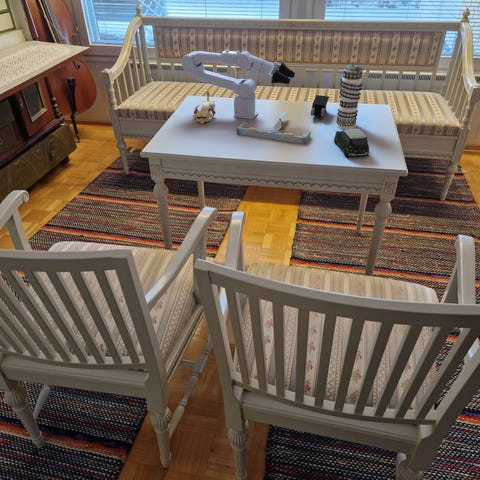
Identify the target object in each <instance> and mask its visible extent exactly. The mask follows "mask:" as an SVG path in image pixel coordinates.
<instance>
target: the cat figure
mask: <svg viewBox="0 0 480 480" xmlns="http://www.w3.org/2000/svg"><path fill="white" fill-rule="evenodd" d="M200 106H201V104H198V105H196V107H195V108H194V110H193V114H192V118H194V119H195V120H196V122H198V123H200V124H204V123H205V122H209V121H211V119H213V118H214V117H215V115H216V110H215V108H214V107H215V106H216V104H215V102H214V100H210V92H209V91H206V100H205V101H203V103H202V106H201V108H200V110H199V109H198V108H199V107H200ZM209 109H210V110H211V113H210V112H209Z"/></svg>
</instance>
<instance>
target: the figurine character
mask: <svg viewBox="0 0 480 480" xmlns="http://www.w3.org/2000/svg"><path fill="white" fill-rule="evenodd" d="M329 99H330V96H328V95H321V94H320V95H319V94H316V95H315V97H314V100H313V102H312V103H311V110H310V116H311V117H312V118H313V120H316V118H319V121H321V120H322V118H323V117H325V115H326V114H327V104H328V101H329Z"/></svg>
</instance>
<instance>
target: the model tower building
mask: <svg viewBox="0 0 480 480" xmlns="http://www.w3.org/2000/svg"><path fill="white" fill-rule="evenodd" d="M363 72H364V69H363V68H362V66H361V65H360V64H355V63H354V64H353V63H351V64H348V65H346V66H345V67H344V68H343V74H342V78H341V79H340V84H339V85H340V87H339V93H338V94H340V95H339V96H338V98H339V104H338V108H337V116H336V120H335V126H336V127H337V128H339V129H343V130H345V129H354V128H356V125H357V120H358V119H357V117H358V112H359V110H358V106H359V104H358V103H359V101H360V99H361V95H362V94H361V91H362V89H363V88H362V87H363V83H362V81H363Z"/></svg>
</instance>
